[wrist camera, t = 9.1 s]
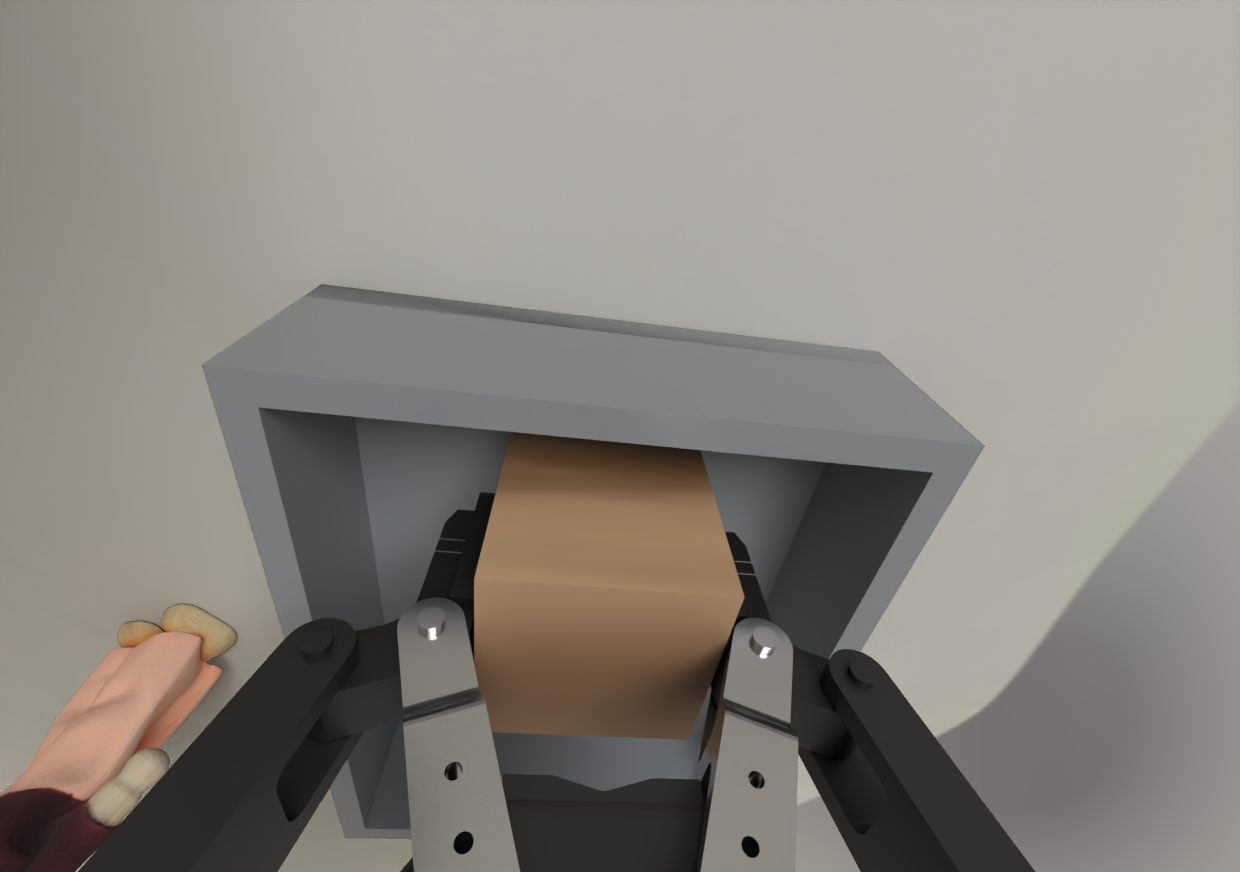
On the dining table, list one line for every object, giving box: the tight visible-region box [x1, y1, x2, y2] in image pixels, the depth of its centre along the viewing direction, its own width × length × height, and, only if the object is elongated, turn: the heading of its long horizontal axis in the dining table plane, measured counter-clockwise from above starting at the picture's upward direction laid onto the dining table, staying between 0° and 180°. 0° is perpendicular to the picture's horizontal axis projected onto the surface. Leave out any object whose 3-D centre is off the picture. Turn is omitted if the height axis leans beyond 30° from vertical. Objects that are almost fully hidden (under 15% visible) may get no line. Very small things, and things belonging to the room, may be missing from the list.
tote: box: [202, 284, 985, 839], centre depth 18 cm, size 20×16×5 cm
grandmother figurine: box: [0, 604, 237, 872], centre depth 16 cm, size 8×4×13 cm, turn 121°
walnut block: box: [474, 432, 745, 740], centre depth 13 cm, size 5×5×5 cm
